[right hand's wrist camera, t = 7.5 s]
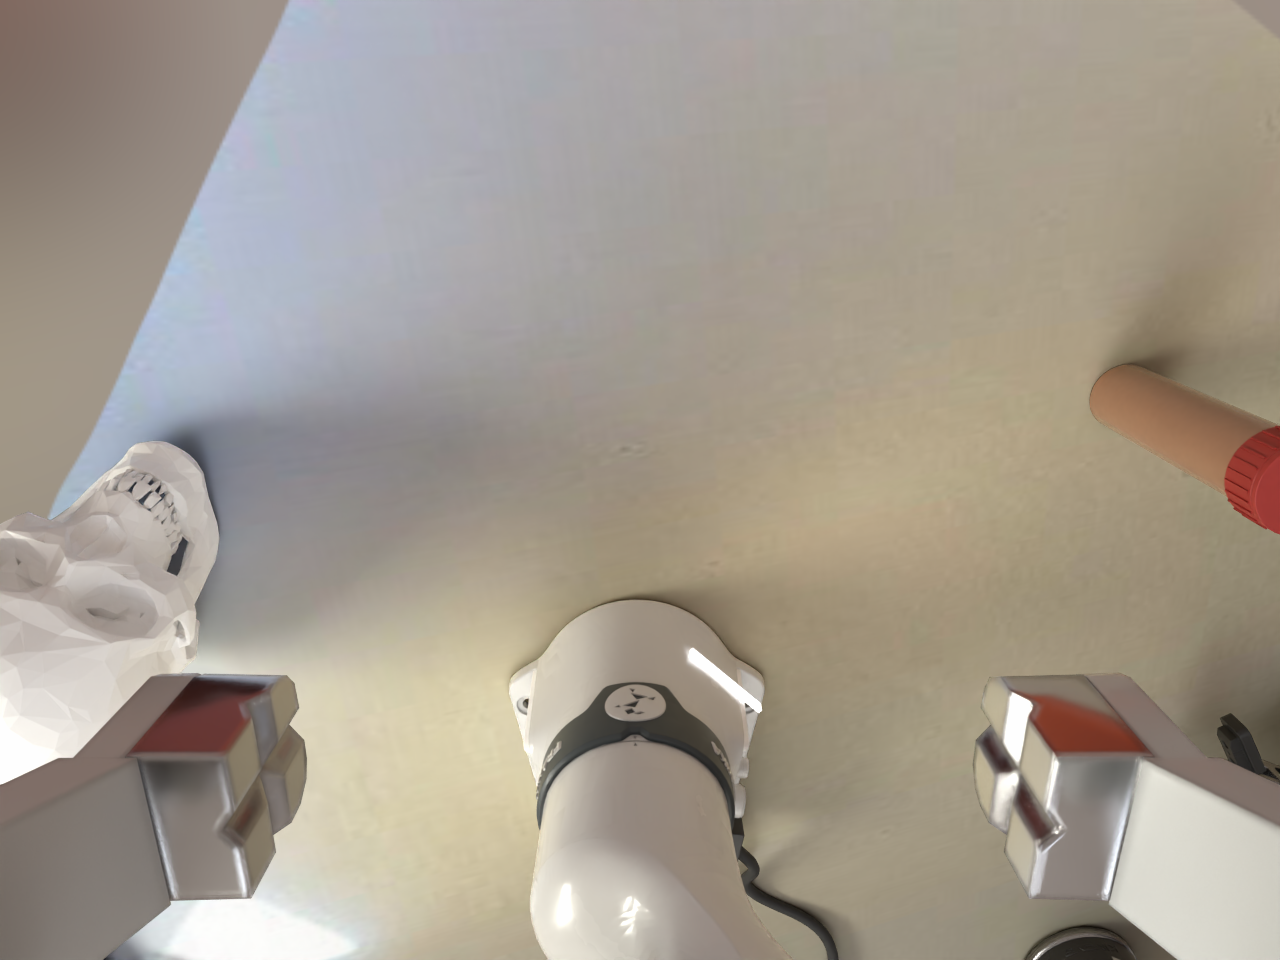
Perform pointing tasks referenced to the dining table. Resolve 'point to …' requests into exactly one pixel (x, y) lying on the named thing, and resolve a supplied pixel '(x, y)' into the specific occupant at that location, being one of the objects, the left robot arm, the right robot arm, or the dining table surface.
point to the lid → (1256, 479)
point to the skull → (98, 602)
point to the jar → (1174, 421)
